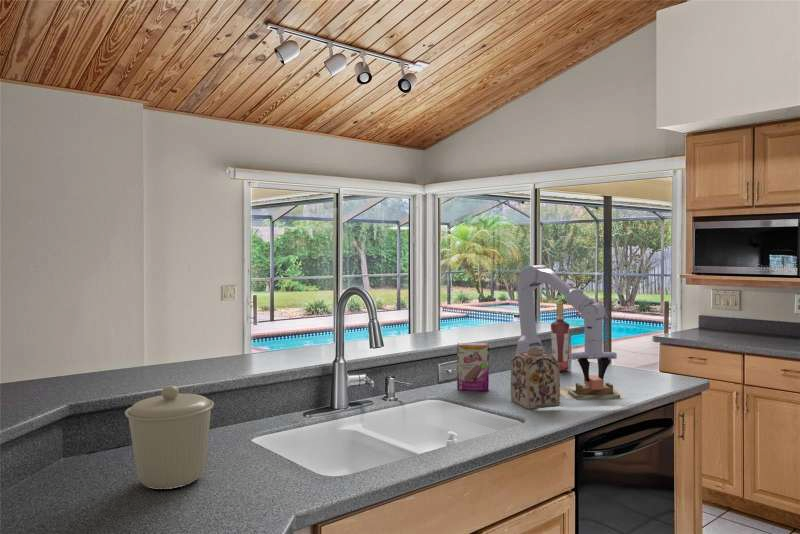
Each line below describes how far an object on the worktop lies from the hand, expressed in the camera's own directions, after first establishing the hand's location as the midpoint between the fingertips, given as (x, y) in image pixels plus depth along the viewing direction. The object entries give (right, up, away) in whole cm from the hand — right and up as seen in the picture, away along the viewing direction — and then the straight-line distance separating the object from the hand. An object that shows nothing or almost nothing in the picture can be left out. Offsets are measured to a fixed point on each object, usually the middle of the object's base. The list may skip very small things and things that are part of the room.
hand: (593, 380), depth 193 cm
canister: (-114, -10, -64) cm, 131 cm away
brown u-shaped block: (0, -5, 0) cm, 5 cm away
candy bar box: (-38, -6, +15) cm, 41 cm away
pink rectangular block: (0, -2, 0) cm, 2 cm away
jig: (0, -6, +5) cm, 8 cm away
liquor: (+1, -5, +45) cm, 46 cm away
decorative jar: (-20, -7, -4) cm, 22 cm away
